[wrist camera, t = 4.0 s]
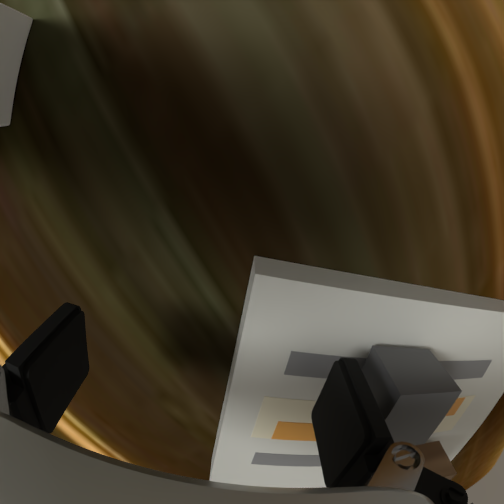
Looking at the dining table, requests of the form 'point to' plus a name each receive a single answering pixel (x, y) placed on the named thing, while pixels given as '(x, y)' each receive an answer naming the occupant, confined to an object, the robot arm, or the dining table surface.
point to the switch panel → (332, 349)
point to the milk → (11, 56)
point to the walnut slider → (437, 459)
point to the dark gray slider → (410, 391)
